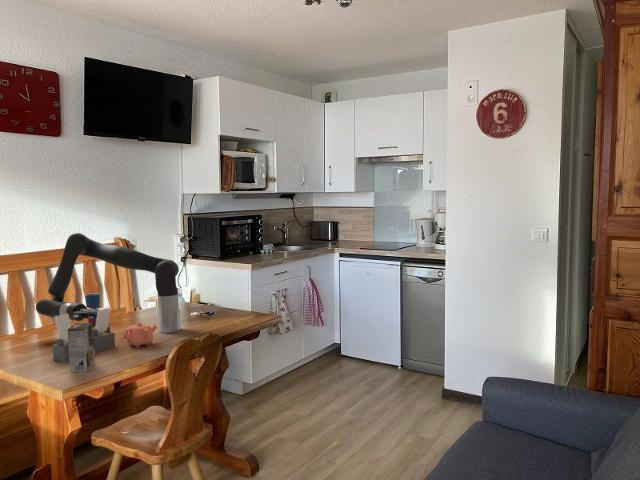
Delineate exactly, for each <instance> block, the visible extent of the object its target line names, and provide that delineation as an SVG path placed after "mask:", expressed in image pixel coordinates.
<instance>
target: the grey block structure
mask: <svg viewBox="0 0 640 480" xmlns="http://www.w3.org/2000/svg"><path fill="white" fill-rule="evenodd" d="M93 334H94V350H95V354H96V353H99V352H101V351H105V350H108V349H111V348H114V347H116V336H115V335H116V334H115V332H114V331H111V326H109V325H108V328H107V331H106V332H103V333H100V334H98V330H95V328H93ZM55 340H56V343H54V344H52V358H53V361H58V362H63V363H66V362H70V358H69V342H68V343H65V344H63V339H59V338H56V339H55Z"/></svg>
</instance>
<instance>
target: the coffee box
mask: <svg viewBox="0 0 640 480" xmlns="http://www.w3.org/2000/svg"><path fill="white" fill-rule="evenodd" d="M93 329H94V325H93V323H88V322H77V323H76V322H75V323H74V325H71V327H70V328H69V329H68V341H69V358H70V361H69V370H70V371H69V372H70V373H83V372H89V371H90V369H91V368H93V367H94V366H95V364H96V353H95V350H94V334H93Z"/></svg>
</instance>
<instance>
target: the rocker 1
mask: <svg viewBox="0 0 640 480" xmlns="http://www.w3.org/2000/svg"><path fill="white" fill-rule="evenodd" d="M53 319H54V322H55V326H56V330H57V334H58V339H63V344H65V343H68V342H69V341H68V329H69V328H70V327H72V325H71V320H69V315H68V313H67V314H63V315H59V316H55V317H54V318H53Z"/></svg>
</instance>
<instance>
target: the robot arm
mask: <svg viewBox="0 0 640 480" xmlns="http://www.w3.org/2000/svg"><path fill="white" fill-rule="evenodd" d="M79 256H85V257H88V258H89V257H90V258H94V259H98V260H101V261H104V262H106V263H108V264H111V265H114V266H116V267H120V268H123V269H129V270H133V271H134V270H135V271H146V272H149V273H153V274H154V276H155V277H154V278H155V279H154V280H155V288H156V292H157V310H158V330H159V333H163V334H170V333H178V332H179V331H180V330H181V328H182V326H181V310H180V308H179V307H180V306H179V289H178V287H177V280H176V276H177V275H178V274H179V272H180V271H179V270H180V268H179V265H178V264H177V263H176V261H173V260H172V259H167V258H160V257H157V256H152V255H149V254H146V253H143V252H141V251H137V250H134V249H132V248H128V247H125V246H121V245H115V244H105V243H101V242H99V241H95V240H94V239H91V238H89V237H87V236H86V235H85V234H83V233H81V232H74V233H72V234H70V235H69V236H68V238H67V240H66V242H65V247H64V250H63V253H62V256H61V260H60V261H59V262H60V263H59V265H58V268H57V270H56V273H55V274H54V276H53V279H52V281H51V283H50V286H49V287H48V291H47V292H48V294H49V295H51V296H52V299H49V298H42V299H40V300H39V301H38V302H36V304H35V310H36V312H37V313H38V314H39V315H42V316H45V317H49V318H53V319H55V318H54V317H55V316H59V315H63V314H67V313H68V315H69V320H70V321H75V322H80V321H83V320H84V319H85V320H86V319H87V320H88V318H93V317H95V318H97V312H98V309H99V308H98V307H97V308H95V310H94V309H90V308H87V307H86V304H83V303H80V302H72V301H71V302H66V301H64V299H65V294H66V291H67V290H68V288H69V286H70V283H71V282H72V281H71V280H72V278H73V277H72V276H73V272H74V267H75V264H76V261H77V260H78V257H79Z"/></svg>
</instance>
